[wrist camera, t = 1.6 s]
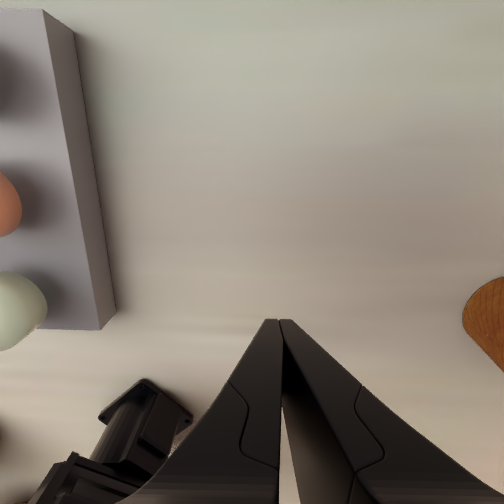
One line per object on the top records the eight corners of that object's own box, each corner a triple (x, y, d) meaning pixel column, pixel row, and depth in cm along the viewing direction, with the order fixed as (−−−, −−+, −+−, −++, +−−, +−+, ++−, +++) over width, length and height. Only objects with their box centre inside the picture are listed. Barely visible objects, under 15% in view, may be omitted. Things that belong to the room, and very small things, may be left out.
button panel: (116, 312, 22) (100, 330, 20) (5, 309, 22) (-24, 327, 20) (73, 30, 16) (42, 9, 14) (-82, 25, 16) (-139, 2, 14)
